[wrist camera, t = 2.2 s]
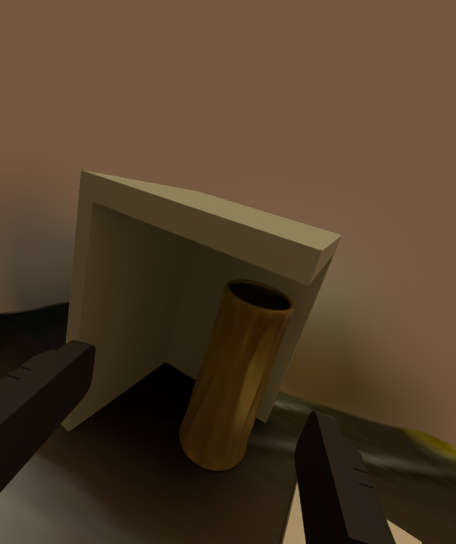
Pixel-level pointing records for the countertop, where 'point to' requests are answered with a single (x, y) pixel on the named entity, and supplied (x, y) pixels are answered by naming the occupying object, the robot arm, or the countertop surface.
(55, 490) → the countertop surface
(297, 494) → the tile
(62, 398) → the robot arm
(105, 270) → the shelf nook
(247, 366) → the vase
